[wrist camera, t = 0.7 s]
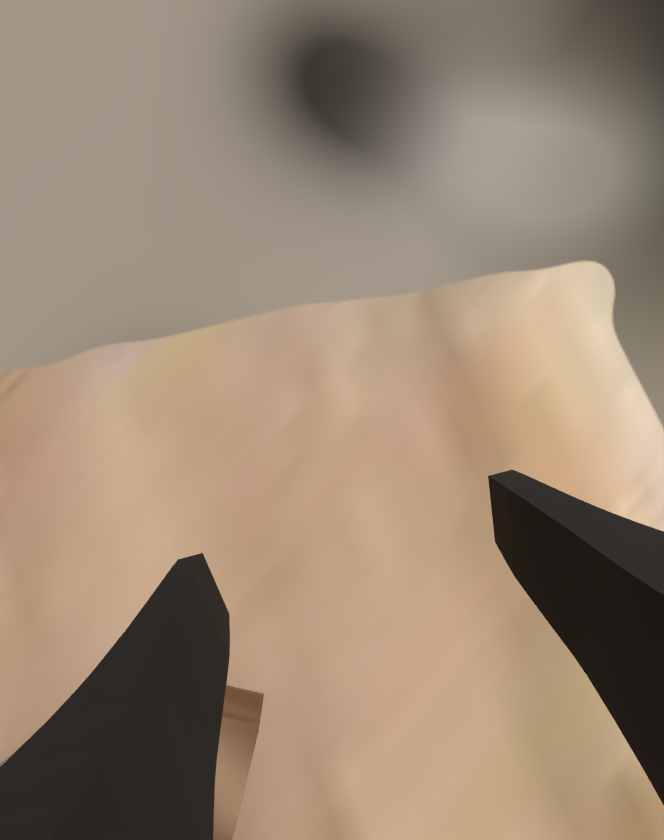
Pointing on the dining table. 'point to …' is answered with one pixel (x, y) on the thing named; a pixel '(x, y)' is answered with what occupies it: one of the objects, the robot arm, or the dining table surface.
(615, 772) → the dining table surface
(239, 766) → the cabinet
